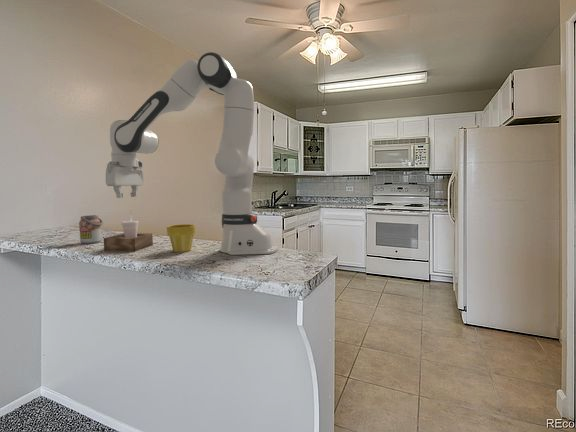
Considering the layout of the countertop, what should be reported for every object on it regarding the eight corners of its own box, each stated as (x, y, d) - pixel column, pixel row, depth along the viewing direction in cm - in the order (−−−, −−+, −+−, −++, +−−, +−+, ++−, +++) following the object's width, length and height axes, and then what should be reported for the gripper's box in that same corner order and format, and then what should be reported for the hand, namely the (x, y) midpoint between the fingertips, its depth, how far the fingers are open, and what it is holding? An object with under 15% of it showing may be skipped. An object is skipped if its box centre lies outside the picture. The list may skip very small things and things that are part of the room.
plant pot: (179, 247, 134) (178, 223, 133) (201, 248, 131) (200, 224, 130) (162, 252, 124) (161, 226, 123) (185, 253, 121) (184, 227, 120)
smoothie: (133, 246, 130) (131, 211, 129) (119, 246, 132) (116, 211, 130) (143, 243, 137) (141, 210, 135) (129, 243, 138) (127, 210, 137)
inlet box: (152, 244, 139) (152, 233, 139) (135, 251, 126) (134, 238, 126) (124, 244, 140) (123, 233, 140) (104, 250, 128) (103, 238, 127)
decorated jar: (108, 241, 150) (106, 215, 148) (95, 244, 141) (93, 217, 140) (89, 240, 151) (87, 215, 149) (75, 244, 142) (73, 217, 141)
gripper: (115, 160, 119) (118, 198, 121) (145, 163, 139) (147, 196, 141) (99, 161, 120) (102, 198, 121) (131, 164, 140) (134, 196, 141)
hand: (127, 197), depth 131 cm, fingers open, 8 cm apart
